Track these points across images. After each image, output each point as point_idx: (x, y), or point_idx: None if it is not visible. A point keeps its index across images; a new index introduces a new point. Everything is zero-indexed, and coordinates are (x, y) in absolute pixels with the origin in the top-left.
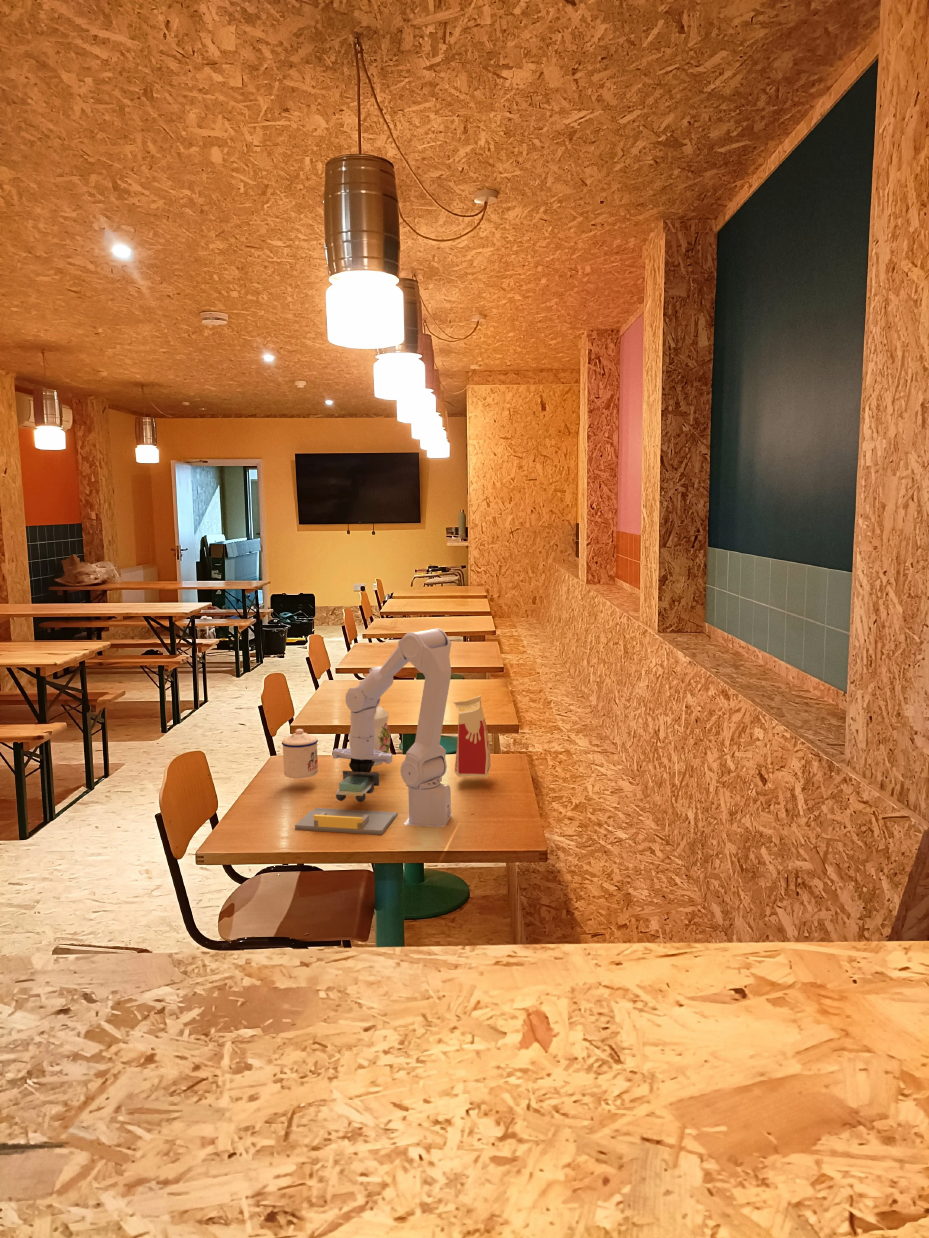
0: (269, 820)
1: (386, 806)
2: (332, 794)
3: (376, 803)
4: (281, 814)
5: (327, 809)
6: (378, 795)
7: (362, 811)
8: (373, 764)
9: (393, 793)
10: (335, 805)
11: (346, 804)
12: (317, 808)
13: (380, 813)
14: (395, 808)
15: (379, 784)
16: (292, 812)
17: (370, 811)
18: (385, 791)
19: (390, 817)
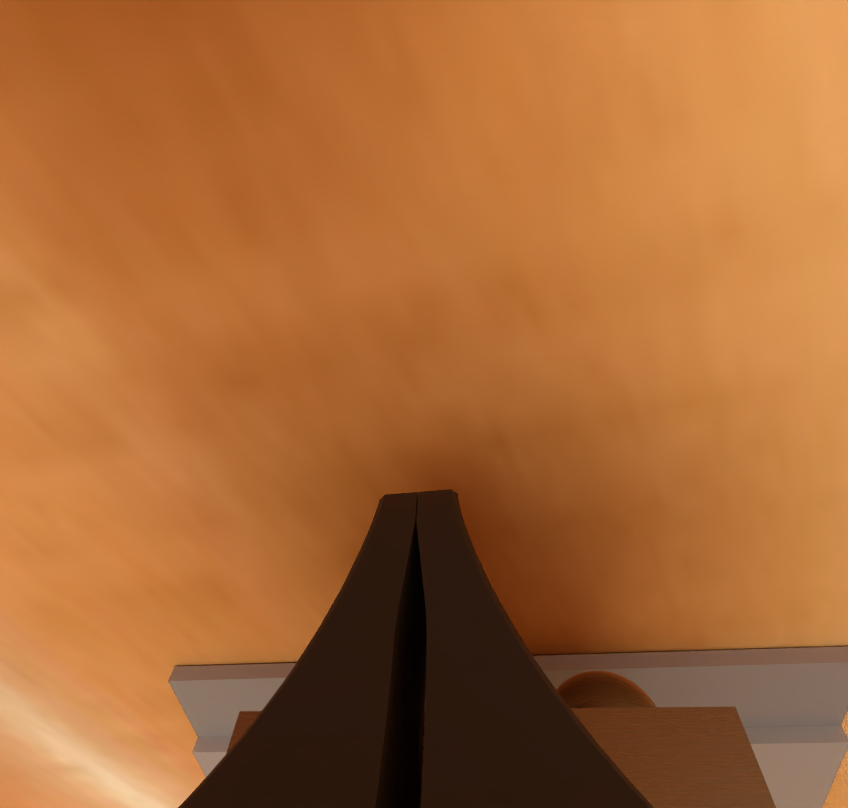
0: (47, 801)
1: (726, 519)
2: (9, 342)
3: (603, 474)
4: (28, 742)
5: (272, 691)
6: (548, 243)
7: (558, 683)
8: (636, 798)
9: (744, 106)
10: (252, 577)
11: (330, 544)
12: (188, 687)
13: (718, 693)
14: (825, 544)
15: (739, 723)
16: (61, 714)
17: (624, 676)
18: (599, 45)
19: (825, 772)
